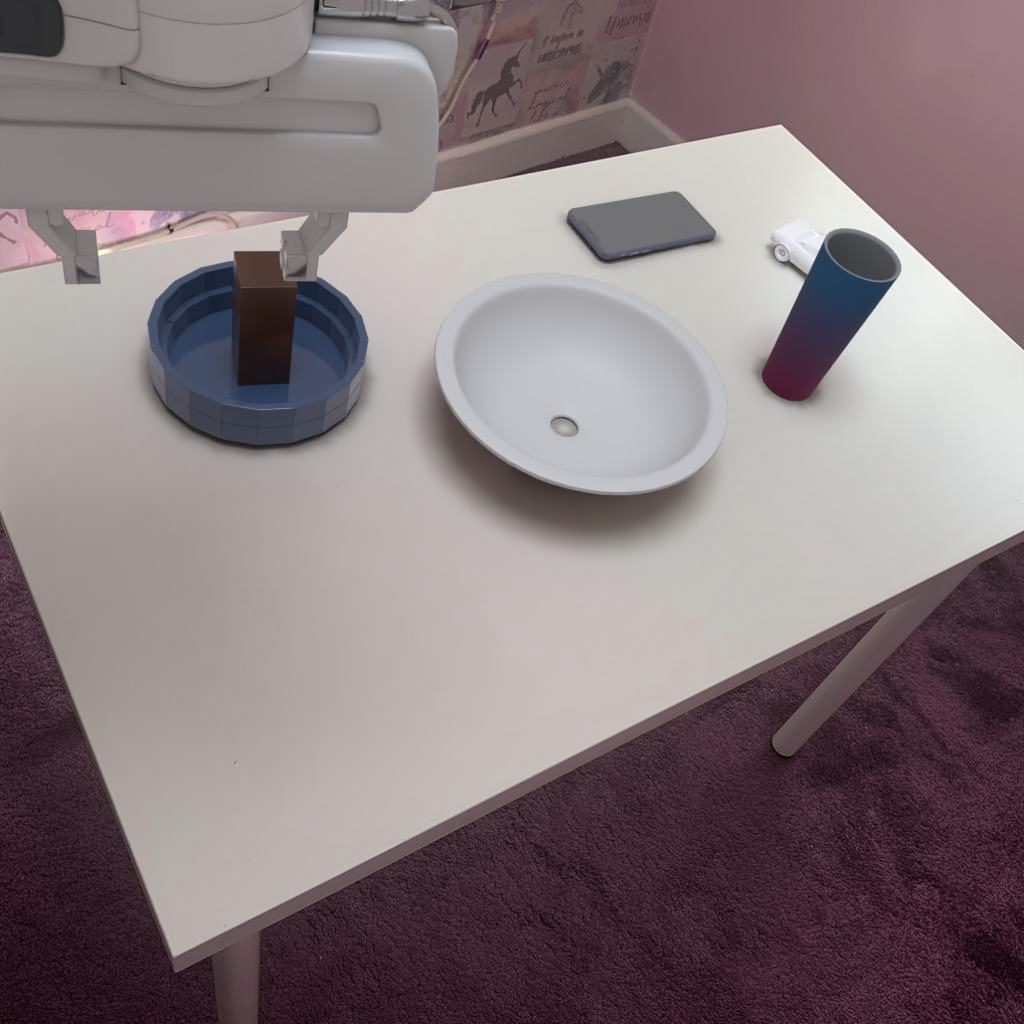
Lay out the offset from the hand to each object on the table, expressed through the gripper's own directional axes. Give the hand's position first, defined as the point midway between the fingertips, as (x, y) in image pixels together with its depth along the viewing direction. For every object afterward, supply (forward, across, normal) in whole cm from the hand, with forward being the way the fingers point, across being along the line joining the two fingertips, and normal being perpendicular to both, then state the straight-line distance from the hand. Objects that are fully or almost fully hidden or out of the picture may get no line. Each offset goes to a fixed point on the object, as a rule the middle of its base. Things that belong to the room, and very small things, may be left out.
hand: (193, 274), depth 48 cm
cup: (+29, -55, -18) cm, 65 cm away
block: (+28, -7, -22) cm, 37 cm away
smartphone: (+29, -48, -40) cm, 69 cm away
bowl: (+29, -7, -22) cm, 37 cm away
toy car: (+29, -66, -33) cm, 79 cm away
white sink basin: (+29, -31, -14) cm, 45 cm away
